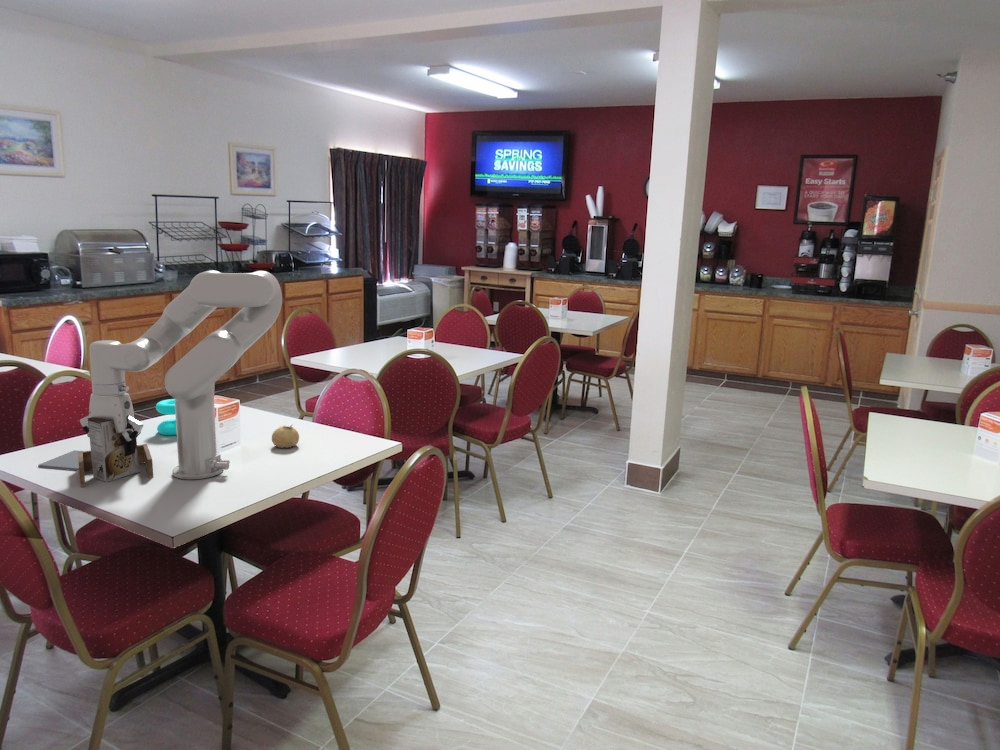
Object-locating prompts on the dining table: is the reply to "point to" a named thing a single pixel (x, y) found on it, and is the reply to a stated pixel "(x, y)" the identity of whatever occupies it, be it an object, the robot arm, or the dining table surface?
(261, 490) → the dining table surface
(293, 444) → the onion
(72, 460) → the charcoal mat
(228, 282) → the robot arm
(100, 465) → the coffee box
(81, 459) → the walnut cubby
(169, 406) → the donuts
